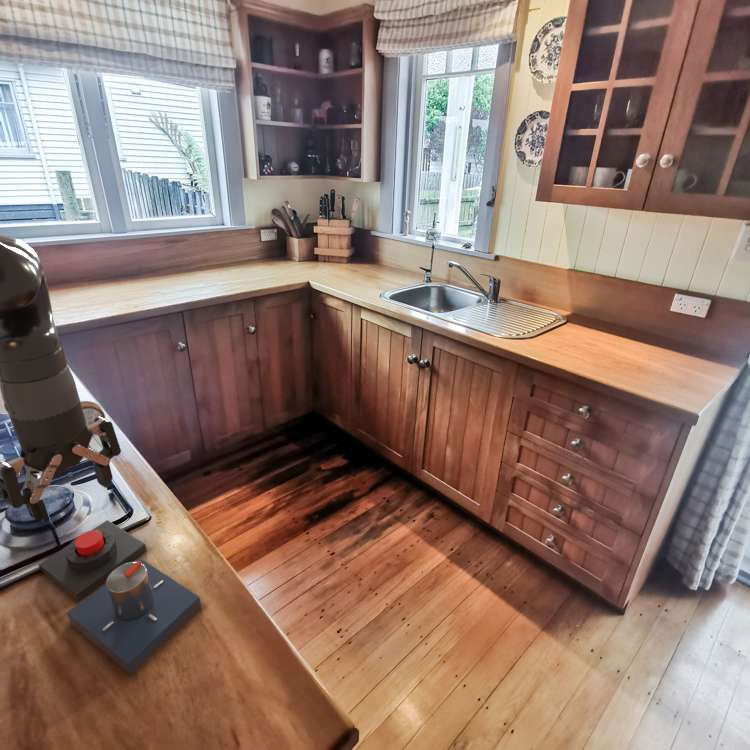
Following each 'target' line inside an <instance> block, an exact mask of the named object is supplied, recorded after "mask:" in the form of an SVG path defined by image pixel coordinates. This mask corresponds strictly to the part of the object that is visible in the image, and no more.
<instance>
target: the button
mask: <svg viewBox="0 0 750 750" xmlns="http://www.w3.org/2000/svg"><path fill="white" fill-rule="evenodd" d="M91 530H92V531H91ZM91 530H88V531H84V532H83V533H81V534H80V535H78V537H76V538H77V539H76V538H75V539H76V541H75V546H76V549H77V552H78V554H79V555H80V556H90V555H93V554H95V553H97V552H98V551H100V550H101V549H102V548H103V546H104V540H103V537H102V534H101V532H99V531H97V530H93V529H91Z"/></svg>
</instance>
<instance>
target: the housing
mask: <svg viewBox="0 0 750 750" xmlns="http://www.w3.org/2000/svg"><path fill="white" fill-rule="evenodd" d="M92 530H97V531H99V532H101V534H102V537H103V540H104V546H103V548H102V549H101V550H100V551H98V552H97V553H95V554H93V555H90V556H80V555H79V554H78V552H77V549H76V546H75V541H76V539H77V538H78V537H76V538H74V539H73V540H72V541H71V542H70V543H69V544H68V545H66V546H65V547H63V548H61V549H60V550H58V551H57V552H55V553H54V554H52V555H50V556H49V557H48V558H46V559H45V560H43V561H41V562H40V563H39V564H38V567H39V569H40V572H41V573H42V574H44V575H45V577H47V578H48V579H50V581H52V582H53V583H54V584H56V585H57V586H58V587H59V588H61V589H62V590H63V591H64V592H66V593H67V594H68V595H69V596H71V597H72V598H73V599H74V600H76V601H77V602H80V603H81V602H82V601H83V600H85V599H86V598H87V597H89V596H90V595H91V594H93V593H94V592H95V591H97V590H98V588H101V587H102V586H103V584H104V585H105V584H106V581H107V578H108V576H109V575H110V573H111V572H112V571H113V570H115V569H116V568H117V567H119V566H121V565H123V564H126V563H130V562H135V561H137V560H138V559H139V558H141V556H142V555H143V554H145V553H146V552H147V551H148V550H147V549H148V548H147V545H146V543H145V542H143V541H141V540H140V539H138V538H136V537H135V536H133V535H132V534H130V533H128V532H127V531H125V530H124V529H122V528H121V527H119V526H118V525H116V524H115V523H113V522H111V521H110V520H105V521H104V522H102V523H100V524H99V525H97V526H96V527H94V528H92V529H91V530H90V531H92Z"/></svg>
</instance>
